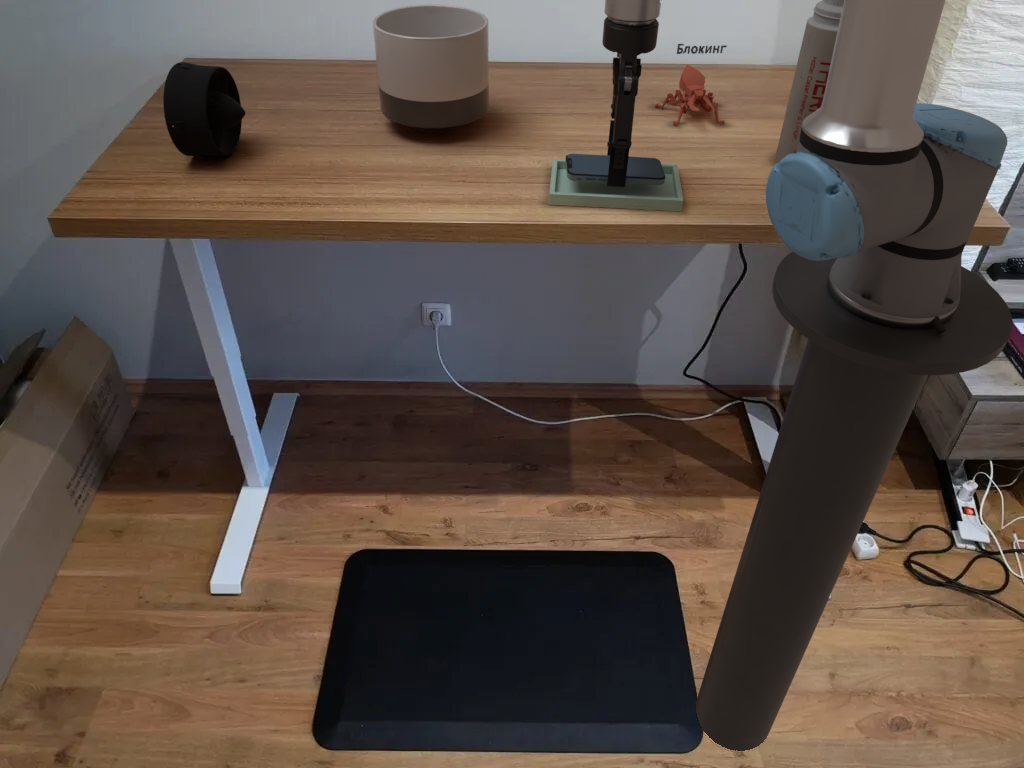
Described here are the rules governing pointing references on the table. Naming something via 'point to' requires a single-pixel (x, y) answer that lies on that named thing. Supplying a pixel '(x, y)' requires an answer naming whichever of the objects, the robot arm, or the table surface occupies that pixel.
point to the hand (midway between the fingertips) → (615, 172)
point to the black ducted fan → (202, 110)
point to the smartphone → (598, 166)
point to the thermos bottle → (810, 73)
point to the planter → (432, 66)
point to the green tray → (616, 191)
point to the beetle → (693, 88)
